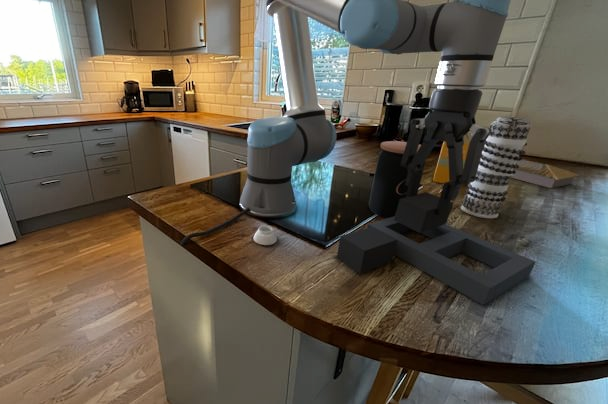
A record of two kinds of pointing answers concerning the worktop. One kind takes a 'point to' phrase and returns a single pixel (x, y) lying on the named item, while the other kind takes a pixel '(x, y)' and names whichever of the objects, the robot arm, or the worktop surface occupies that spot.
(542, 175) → the rafter model
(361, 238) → the pad
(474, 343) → the worktop surface
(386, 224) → the base pad
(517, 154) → the decorative candle
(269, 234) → the white upturned bowl
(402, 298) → the worktop surface
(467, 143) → the orange juice
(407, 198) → the pad
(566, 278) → the worktop surface
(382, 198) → the coffee jar
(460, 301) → the worktop surface
